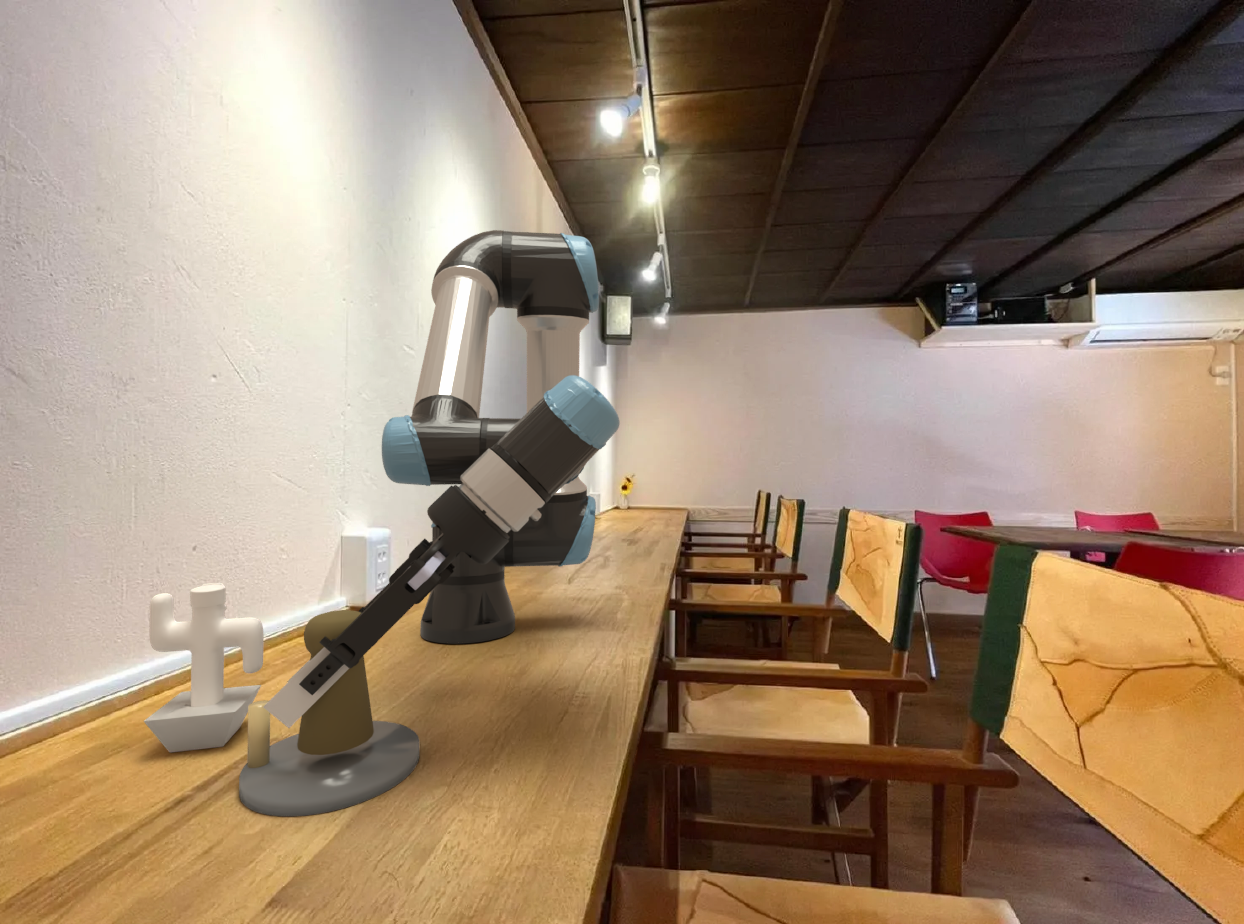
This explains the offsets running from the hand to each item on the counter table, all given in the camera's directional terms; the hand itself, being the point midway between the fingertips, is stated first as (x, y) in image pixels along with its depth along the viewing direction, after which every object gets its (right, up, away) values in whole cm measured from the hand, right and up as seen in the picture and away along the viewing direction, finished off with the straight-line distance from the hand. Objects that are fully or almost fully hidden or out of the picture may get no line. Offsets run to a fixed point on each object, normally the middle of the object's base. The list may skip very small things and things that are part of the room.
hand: (289, 701), depth 49 cm
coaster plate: (+4, -6, +1) cm, 7 cm away
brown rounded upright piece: (+4, -4, +1) cm, 5 cm away
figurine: (-12, -7, +6) cm, 15 cm away
